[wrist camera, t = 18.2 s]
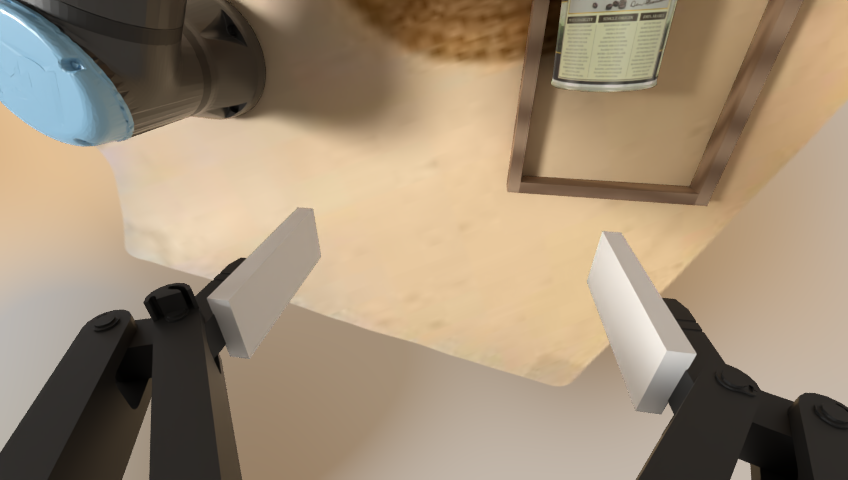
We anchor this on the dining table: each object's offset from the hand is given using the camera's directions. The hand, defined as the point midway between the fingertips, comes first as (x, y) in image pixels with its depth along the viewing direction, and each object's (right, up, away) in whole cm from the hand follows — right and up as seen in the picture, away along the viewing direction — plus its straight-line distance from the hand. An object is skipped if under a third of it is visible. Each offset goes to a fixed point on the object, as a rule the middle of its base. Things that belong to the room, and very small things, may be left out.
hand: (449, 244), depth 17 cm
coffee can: (+18, +17, +22) cm, 33 cm away
